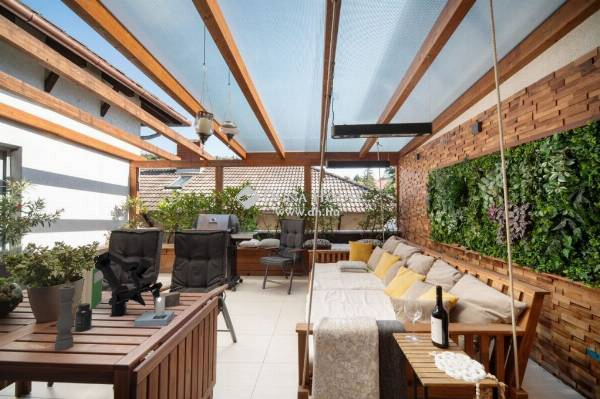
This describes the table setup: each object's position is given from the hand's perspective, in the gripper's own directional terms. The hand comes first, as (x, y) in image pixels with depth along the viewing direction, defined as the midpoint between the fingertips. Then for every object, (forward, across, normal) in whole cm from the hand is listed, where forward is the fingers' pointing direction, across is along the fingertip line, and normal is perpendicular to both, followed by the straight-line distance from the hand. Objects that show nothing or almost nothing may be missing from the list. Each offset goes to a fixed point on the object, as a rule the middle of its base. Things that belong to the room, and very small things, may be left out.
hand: (152, 303), depth 158 cm
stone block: (-3, +22, +17) cm, 28 cm away
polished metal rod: (+10, 0, +3) cm, 11 cm away
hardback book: (-33, +4, +48) cm, 59 cm away
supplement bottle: (-8, -22, +22) cm, 32 cm away
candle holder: (+2, -38, +12) cm, 40 cm away
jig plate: (+8, +1, +6) cm, 10 cm away
